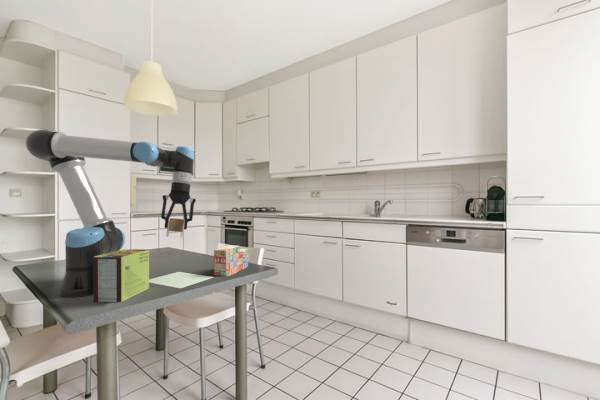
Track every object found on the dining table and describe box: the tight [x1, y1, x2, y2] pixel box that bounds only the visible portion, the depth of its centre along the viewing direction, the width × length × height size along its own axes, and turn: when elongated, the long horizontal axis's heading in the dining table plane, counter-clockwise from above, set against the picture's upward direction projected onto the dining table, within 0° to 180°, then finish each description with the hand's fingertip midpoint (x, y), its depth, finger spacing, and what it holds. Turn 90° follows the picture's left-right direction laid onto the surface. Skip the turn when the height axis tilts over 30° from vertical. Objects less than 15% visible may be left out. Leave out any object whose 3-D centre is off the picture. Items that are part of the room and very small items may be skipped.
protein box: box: [92, 248, 150, 304], centre depth 105 cm, size 10×15×16 cm
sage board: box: [149, 271, 215, 289], centre depth 125 cm, size 22×18×1 cm
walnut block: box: [169, 217, 184, 233], centre depth 125 cm, size 5×5×12 cm
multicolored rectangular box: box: [213, 245, 250, 277], centre depth 141 cm, size 21×6×12 cm, turn 162°
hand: (174, 236), depth 125 cm, fingers closed on walnut block, 5 cm apart
